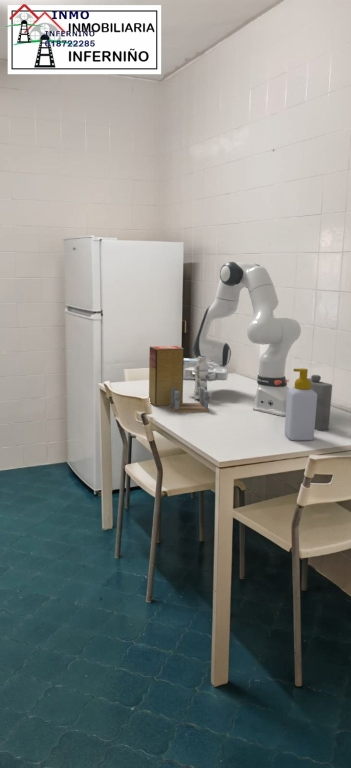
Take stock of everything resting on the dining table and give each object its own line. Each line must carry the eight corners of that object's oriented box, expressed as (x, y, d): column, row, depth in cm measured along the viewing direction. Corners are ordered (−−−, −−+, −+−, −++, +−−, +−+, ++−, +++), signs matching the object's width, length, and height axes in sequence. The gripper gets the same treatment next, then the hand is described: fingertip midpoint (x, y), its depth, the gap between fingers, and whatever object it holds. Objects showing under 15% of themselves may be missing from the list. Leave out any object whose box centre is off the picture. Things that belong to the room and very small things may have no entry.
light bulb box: (199, 377, 314) (200, 358, 311) (198, 380, 307) (199, 360, 305) (180, 376, 315) (180, 357, 312) (178, 379, 308) (179, 359, 306)
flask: (294, 421, 228) (298, 372, 224) (306, 420, 230) (310, 371, 226) (319, 431, 215) (323, 379, 211) (331, 430, 217) (335, 378, 213)
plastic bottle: (210, 399, 262) (212, 356, 258) (201, 402, 257) (203, 358, 253) (199, 397, 266) (201, 354, 262) (190, 399, 261) (191, 356, 257)
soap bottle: (283, 433, 210) (288, 366, 205) (307, 434, 211) (312, 367, 206) (289, 441, 201) (294, 371, 196) (314, 441, 202) (320, 371, 197)
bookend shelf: (208, 411, 240) (209, 392, 238) (174, 412, 237) (175, 392, 235) (203, 406, 249) (203, 387, 248) (170, 406, 247) (170, 387, 245)
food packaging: (175, 399, 259) (176, 345, 254) (183, 404, 251) (185, 348, 246) (147, 401, 254) (148, 346, 249) (155, 406, 246) (156, 349, 241)
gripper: (189, 363, 274) (179, 367, 261) (231, 366, 267) (222, 371, 254) (189, 376, 275) (179, 381, 262) (230, 380, 268) (221, 385, 255)
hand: (200, 376), depth 258 cm, fingers closed on plastic bottle, 6 cm apart
